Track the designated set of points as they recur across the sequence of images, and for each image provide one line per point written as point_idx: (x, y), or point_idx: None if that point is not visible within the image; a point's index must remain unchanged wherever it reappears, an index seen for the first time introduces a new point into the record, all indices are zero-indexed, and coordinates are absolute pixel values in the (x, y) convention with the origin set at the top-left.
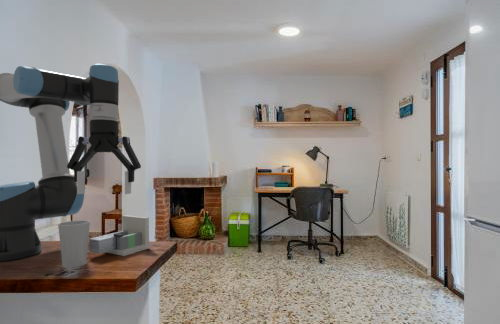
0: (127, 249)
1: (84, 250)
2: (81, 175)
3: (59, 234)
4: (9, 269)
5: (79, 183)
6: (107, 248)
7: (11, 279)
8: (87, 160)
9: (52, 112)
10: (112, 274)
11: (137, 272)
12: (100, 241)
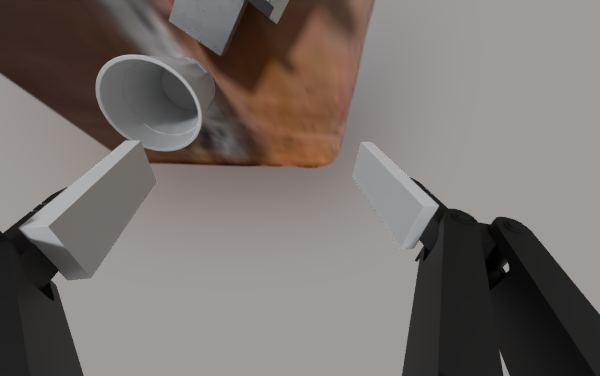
0: (281, 2)
1: (210, 97)
2: (97, 234)
3: (140, 125)
4: (61, 108)
5: (132, 215)
6: (235, 29)
7: None
8: (54, 356)
9: None
10: (297, 149)
11: (334, 143)
12: (223, 51)
